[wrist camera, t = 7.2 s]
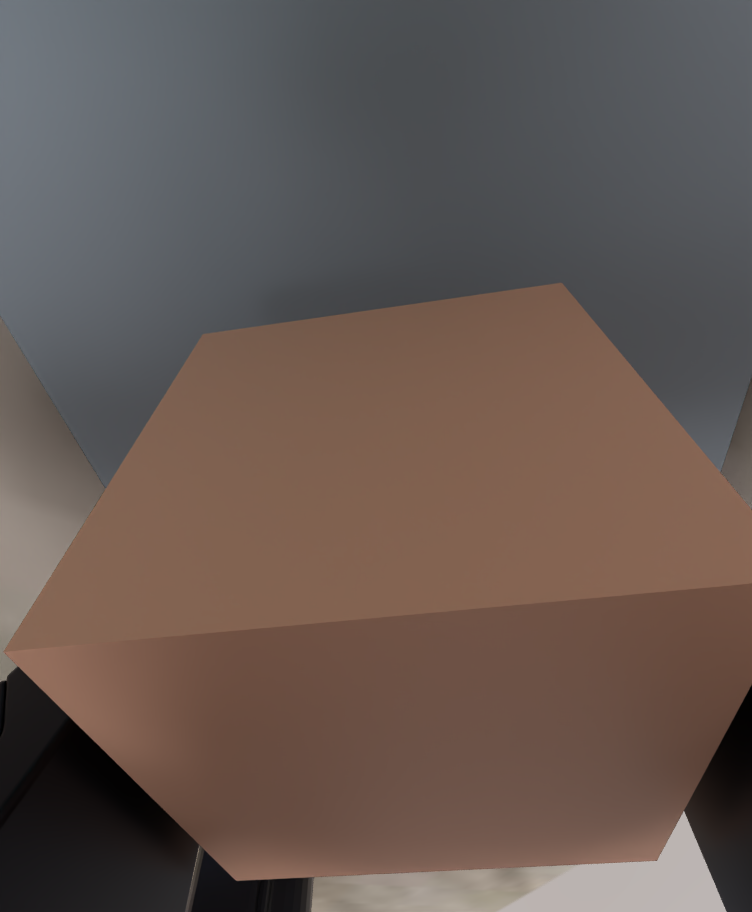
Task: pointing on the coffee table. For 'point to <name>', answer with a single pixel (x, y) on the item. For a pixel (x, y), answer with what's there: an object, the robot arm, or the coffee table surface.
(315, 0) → the slate mat
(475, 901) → the coffee table surface
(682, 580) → the terracotta cube
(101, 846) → the robot arm
